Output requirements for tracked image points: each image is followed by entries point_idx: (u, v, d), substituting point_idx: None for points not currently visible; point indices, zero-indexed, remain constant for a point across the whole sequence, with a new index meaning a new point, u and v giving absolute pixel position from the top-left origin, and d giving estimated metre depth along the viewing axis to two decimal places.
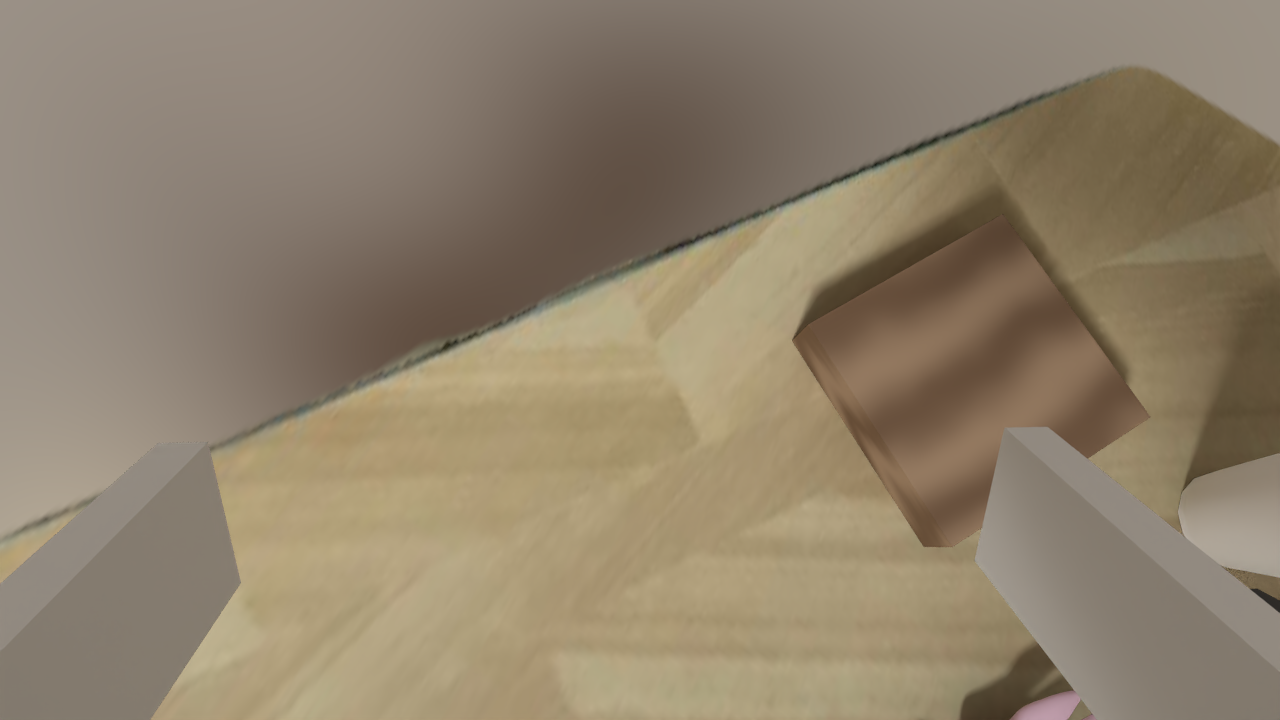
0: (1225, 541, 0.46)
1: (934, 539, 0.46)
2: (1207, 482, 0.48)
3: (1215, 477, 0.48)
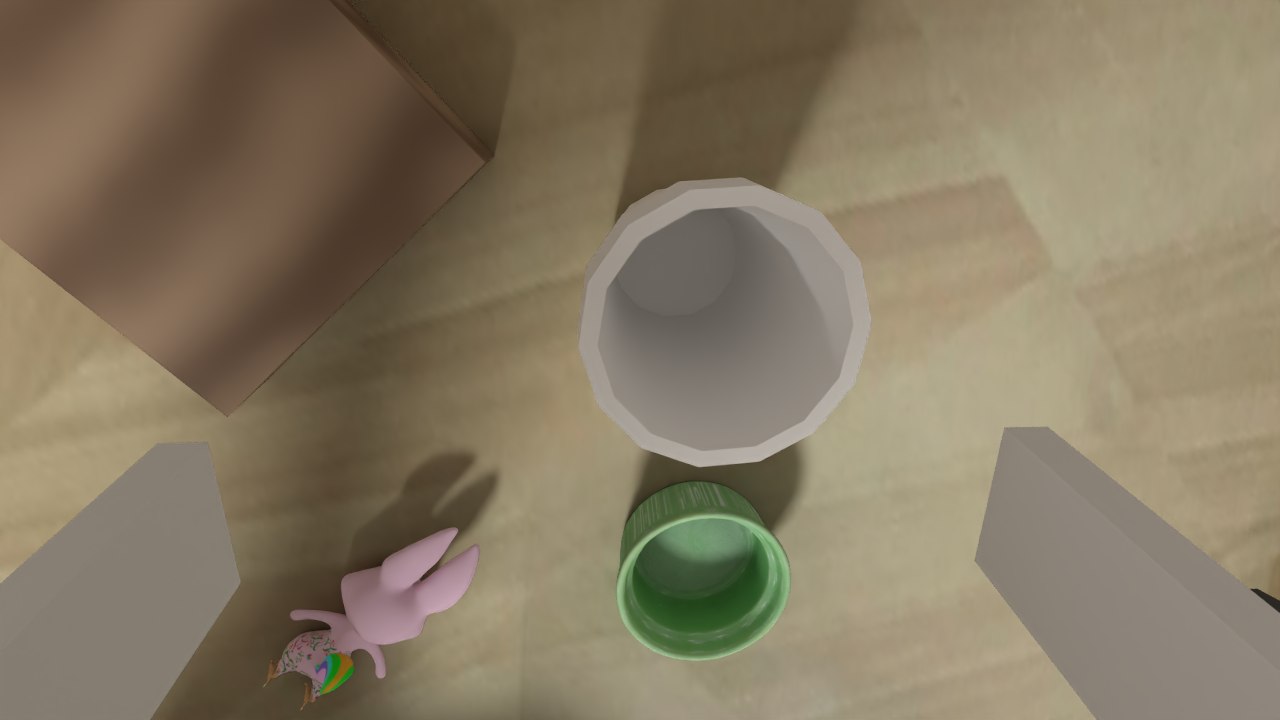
0: None
1: None
2: None
3: None
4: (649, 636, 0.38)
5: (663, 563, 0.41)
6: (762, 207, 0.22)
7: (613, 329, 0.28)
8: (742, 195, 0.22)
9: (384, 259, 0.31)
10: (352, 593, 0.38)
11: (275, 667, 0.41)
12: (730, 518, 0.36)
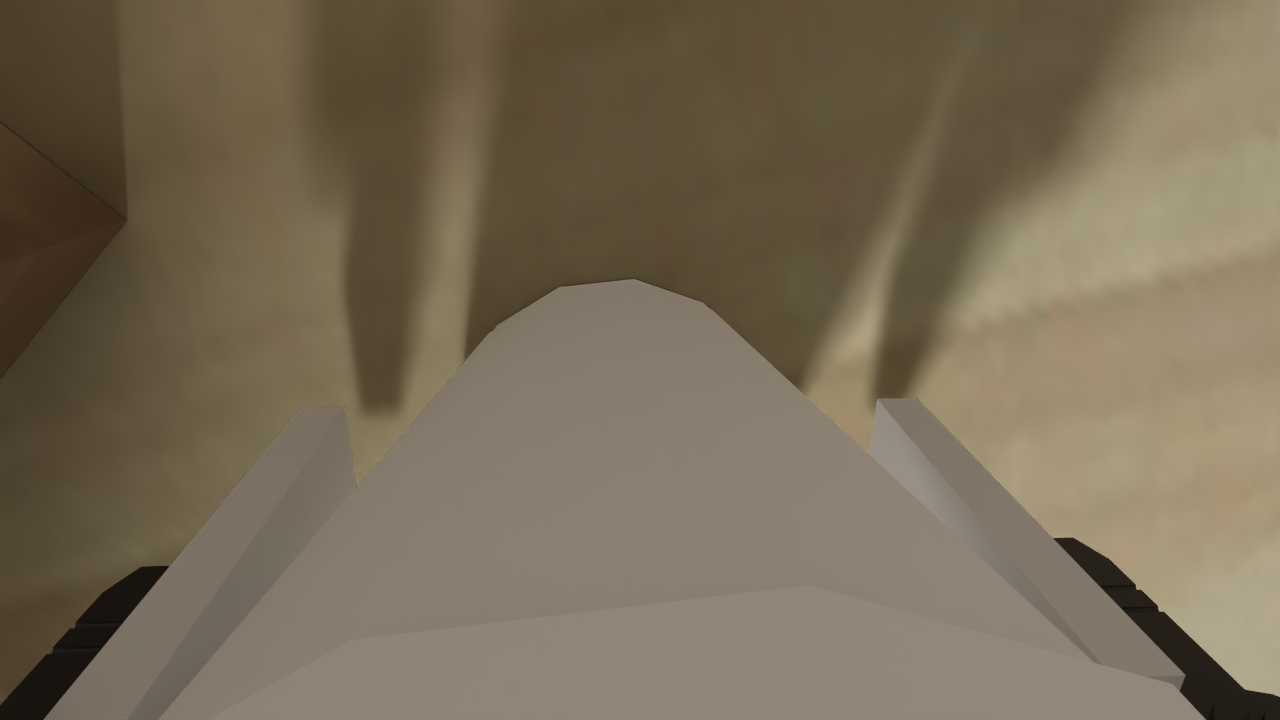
0: None
1: None
2: None
3: None
4: None
5: None
6: None
7: None
8: None
9: None
10: None
11: None
12: None
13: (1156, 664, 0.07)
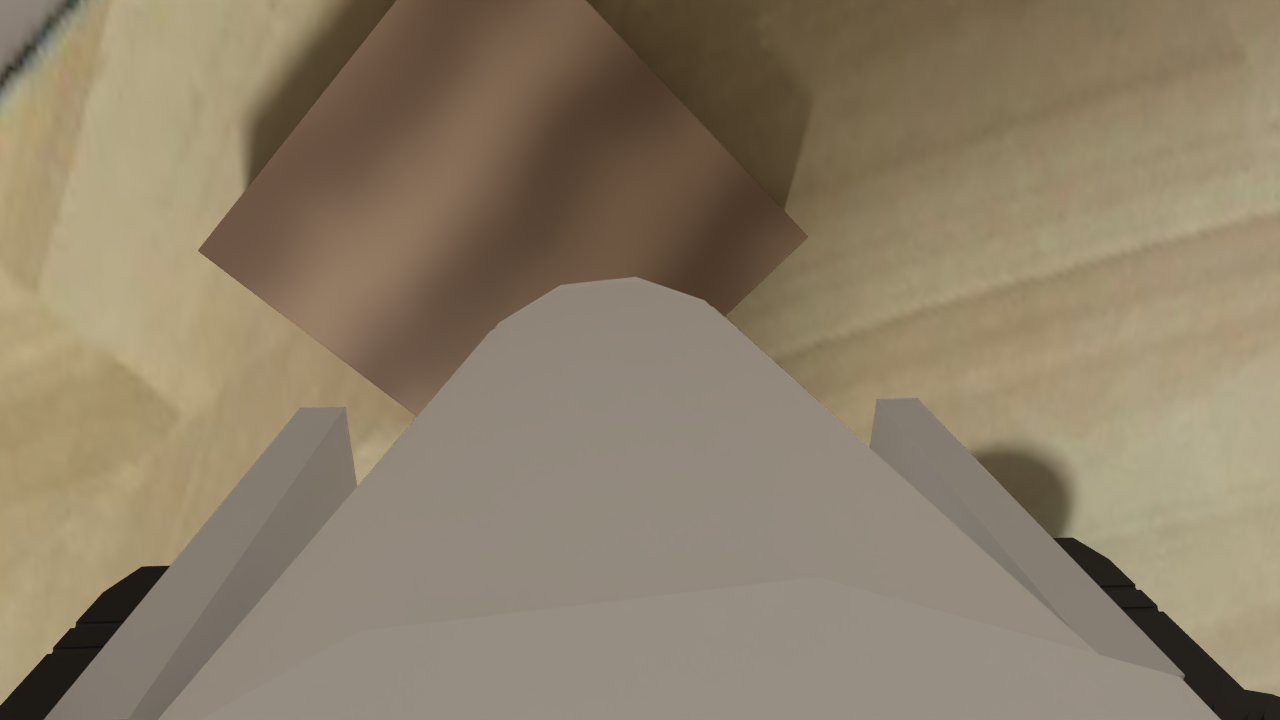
0: None
1: None
2: None
3: None
4: None
5: None
6: None
7: None
8: None
9: None
10: None
11: None
12: None
13: (1156, 663, 0.07)
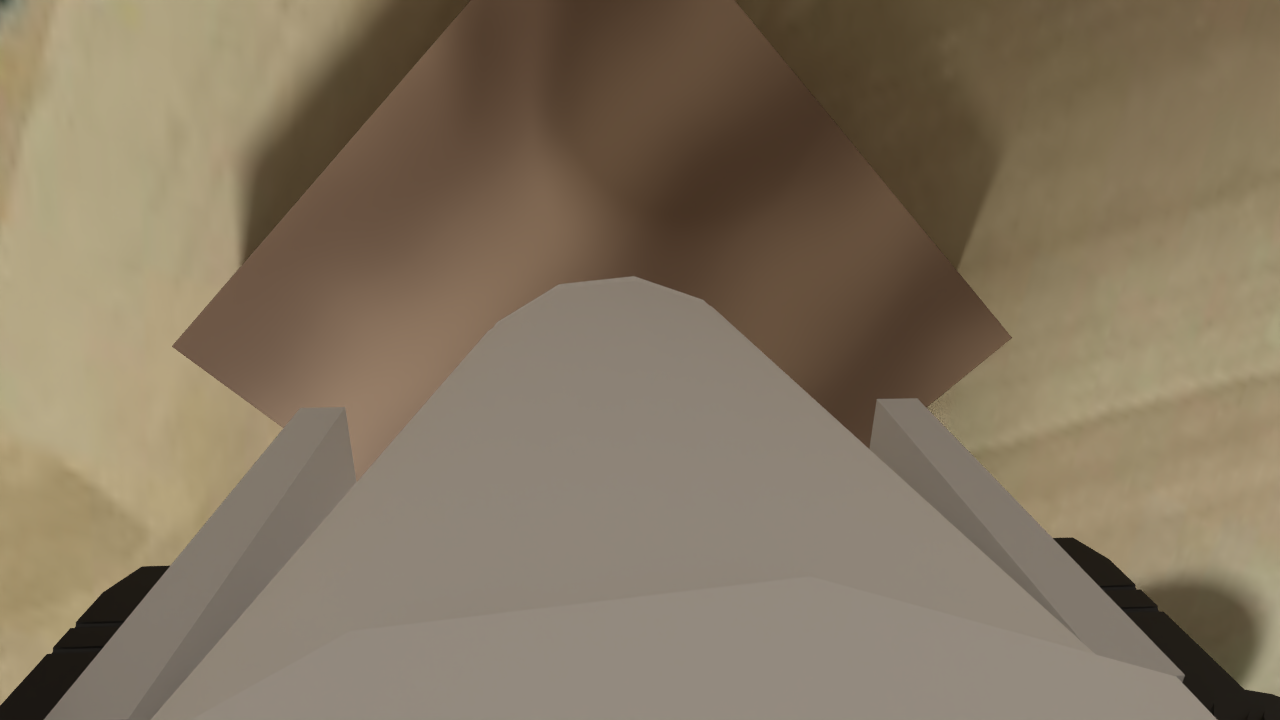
0: None
1: None
2: None
3: None
4: None
5: None
6: None
7: None
8: None
9: None
10: None
11: None
12: None
13: (1156, 663, 0.07)
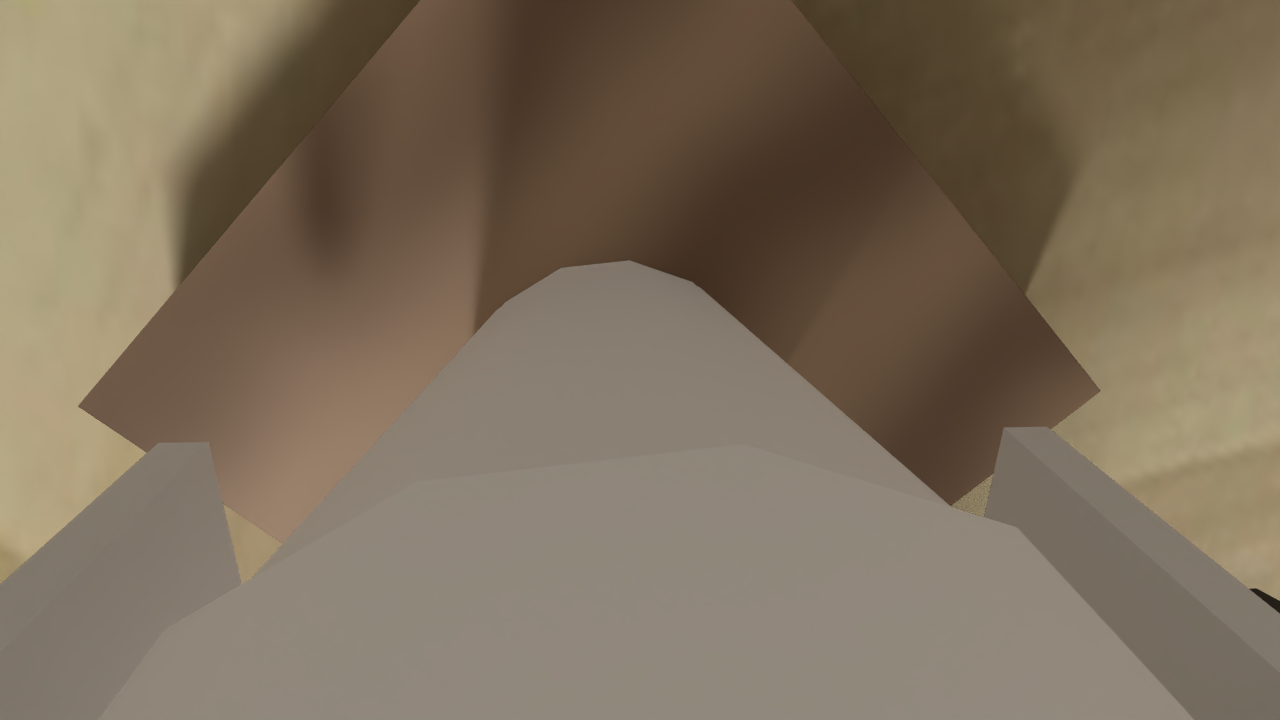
0: None
1: None
2: None
3: None
4: None
5: None
6: None
7: None
8: None
9: None
10: None
11: None
12: None
13: None
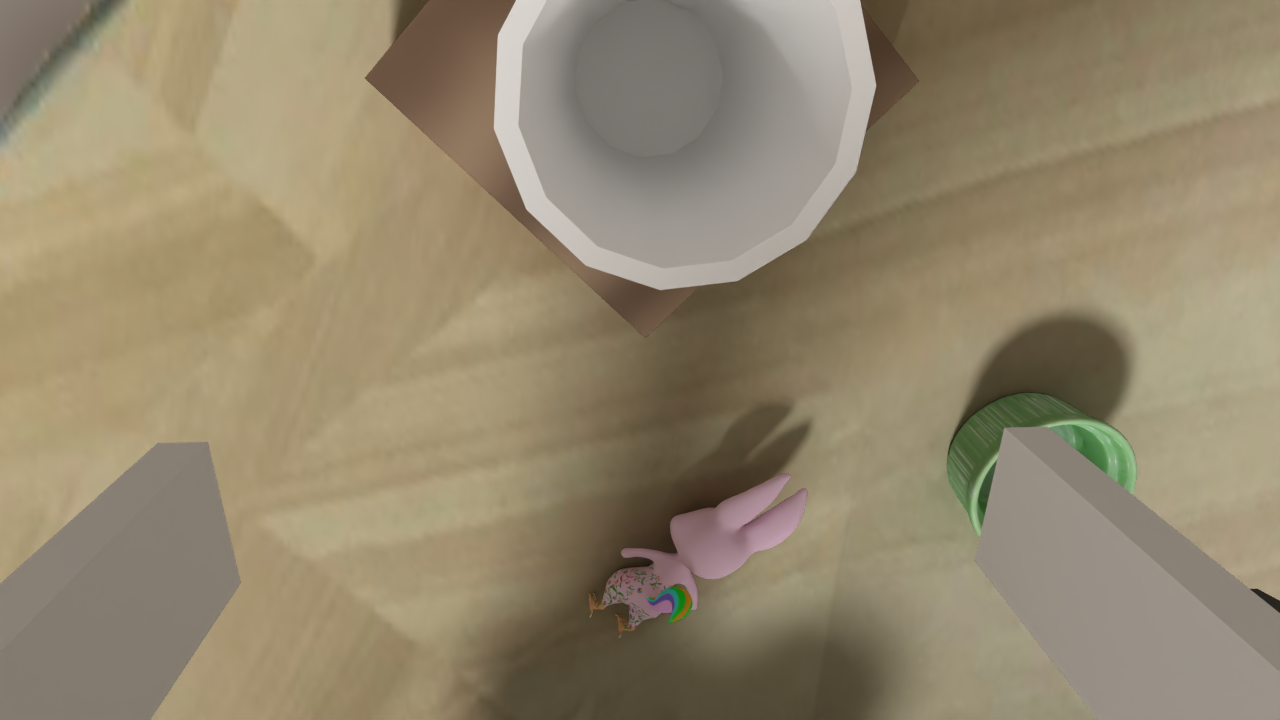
0: None
1: None
2: None
3: None
4: None
5: None
6: None
7: (560, 141, 0.23)
8: None
9: None
10: (688, 533, 0.41)
11: (594, 600, 0.45)
12: (1091, 423, 0.38)
13: None
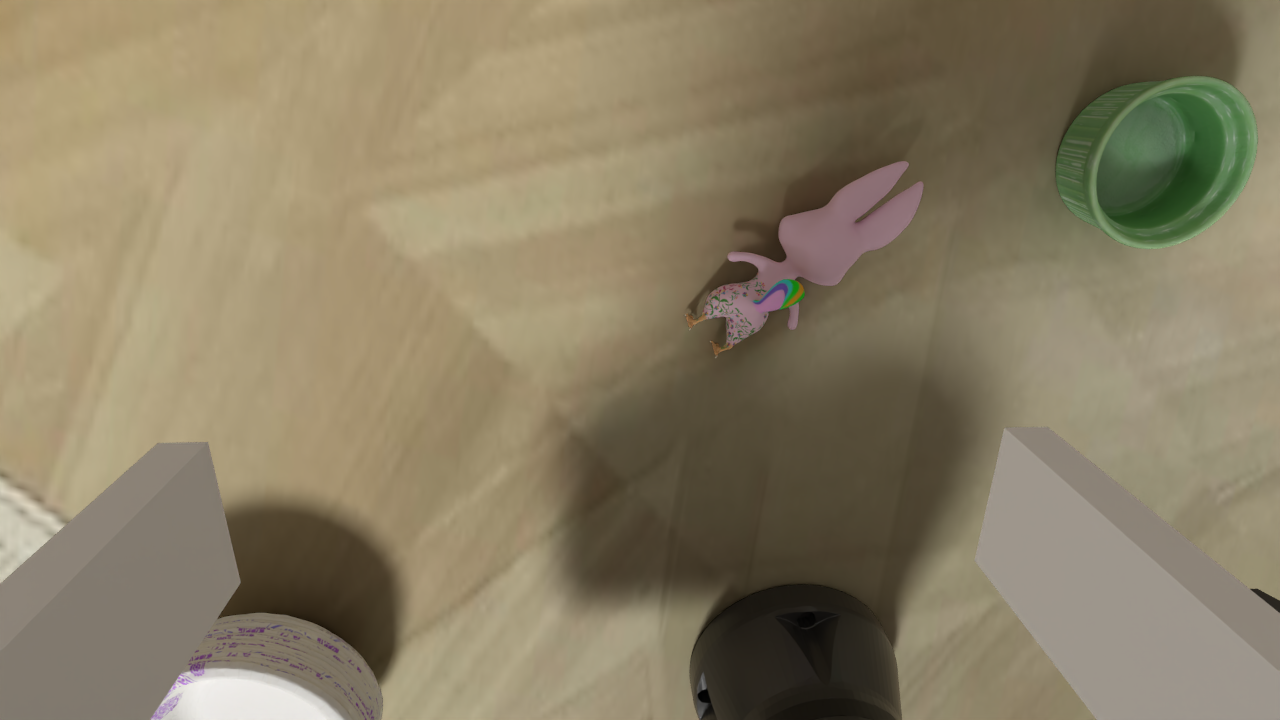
0: None
1: None
2: None
3: None
4: (1108, 222, 0.40)
5: None
6: None
7: None
8: None
9: None
10: (800, 227, 0.41)
11: (692, 318, 0.44)
12: (1215, 82, 0.38)
13: None
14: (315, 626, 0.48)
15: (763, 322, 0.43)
